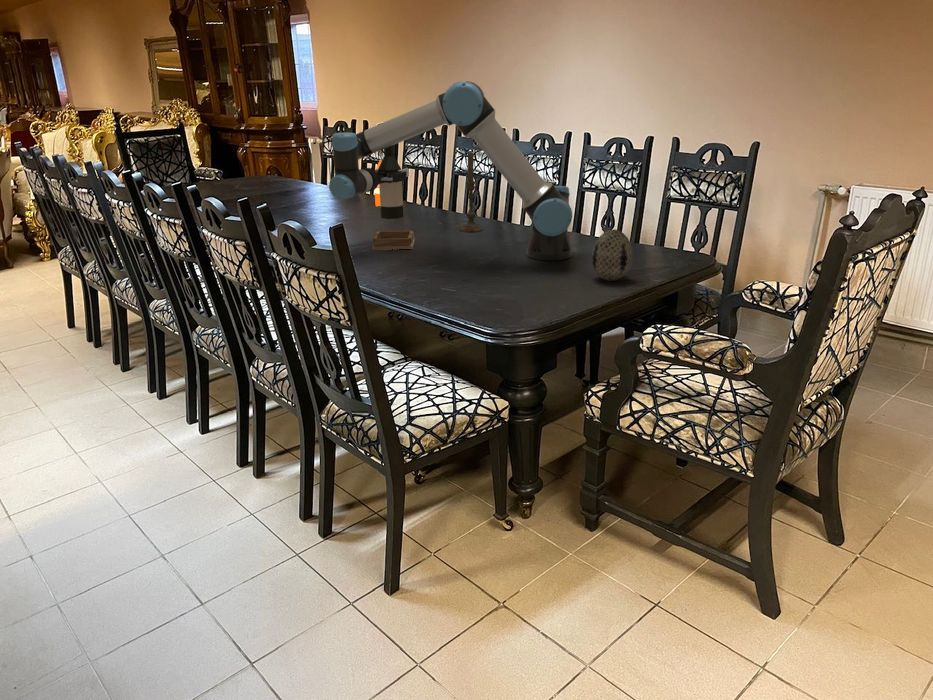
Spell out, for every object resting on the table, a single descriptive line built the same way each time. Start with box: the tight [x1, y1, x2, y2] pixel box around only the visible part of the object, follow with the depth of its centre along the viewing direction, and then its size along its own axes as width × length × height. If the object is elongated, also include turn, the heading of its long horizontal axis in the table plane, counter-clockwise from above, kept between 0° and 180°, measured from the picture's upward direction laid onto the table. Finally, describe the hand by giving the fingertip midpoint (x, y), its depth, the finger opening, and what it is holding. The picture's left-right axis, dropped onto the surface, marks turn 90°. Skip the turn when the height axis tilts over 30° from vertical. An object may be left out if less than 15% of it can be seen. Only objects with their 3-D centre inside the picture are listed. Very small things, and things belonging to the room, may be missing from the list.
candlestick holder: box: [459, 151, 484, 233], centre depth 265 cm, size 9×9×30 cm
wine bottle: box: [378, 145, 404, 220], centre depth 239 cm, size 8×8×30 cm
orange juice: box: [373, 160, 382, 207], centre depth 316 cm, size 8×9×20 cm
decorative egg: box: [591, 229, 634, 282], centre depth 202 cm, size 12×12×15 cm
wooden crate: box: [371, 230, 416, 251], centre depth 248 cm, size 14×14×4 cm
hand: (396, 171), depth 243 cm, fingers closed on wine bottle, 8 cm apart
